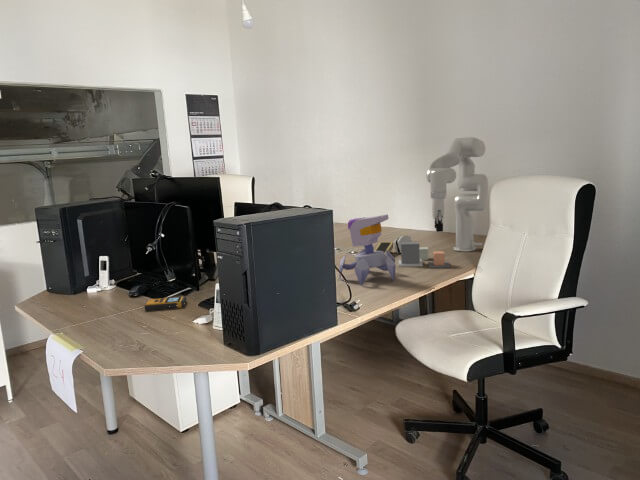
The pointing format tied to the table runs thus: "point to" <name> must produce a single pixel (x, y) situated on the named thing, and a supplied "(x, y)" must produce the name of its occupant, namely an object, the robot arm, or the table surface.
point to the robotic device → (368, 248)
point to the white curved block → (398, 242)
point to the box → (384, 247)
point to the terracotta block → (439, 257)
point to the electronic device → (165, 303)
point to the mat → (431, 265)
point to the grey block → (423, 253)
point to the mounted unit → (410, 255)
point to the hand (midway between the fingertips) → (438, 229)
